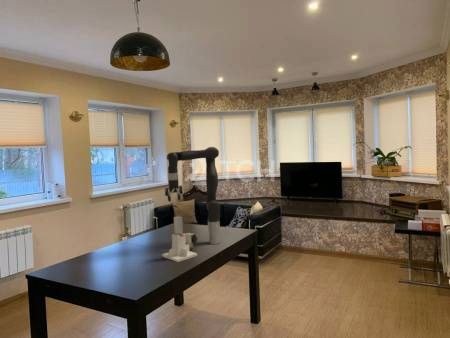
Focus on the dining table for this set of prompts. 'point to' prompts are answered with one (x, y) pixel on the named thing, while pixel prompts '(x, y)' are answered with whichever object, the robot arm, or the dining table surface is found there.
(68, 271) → the dining table surface
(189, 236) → the pneumatic valve
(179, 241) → the stand base
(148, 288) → the dining table surface
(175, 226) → the column
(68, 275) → the dining table surface
